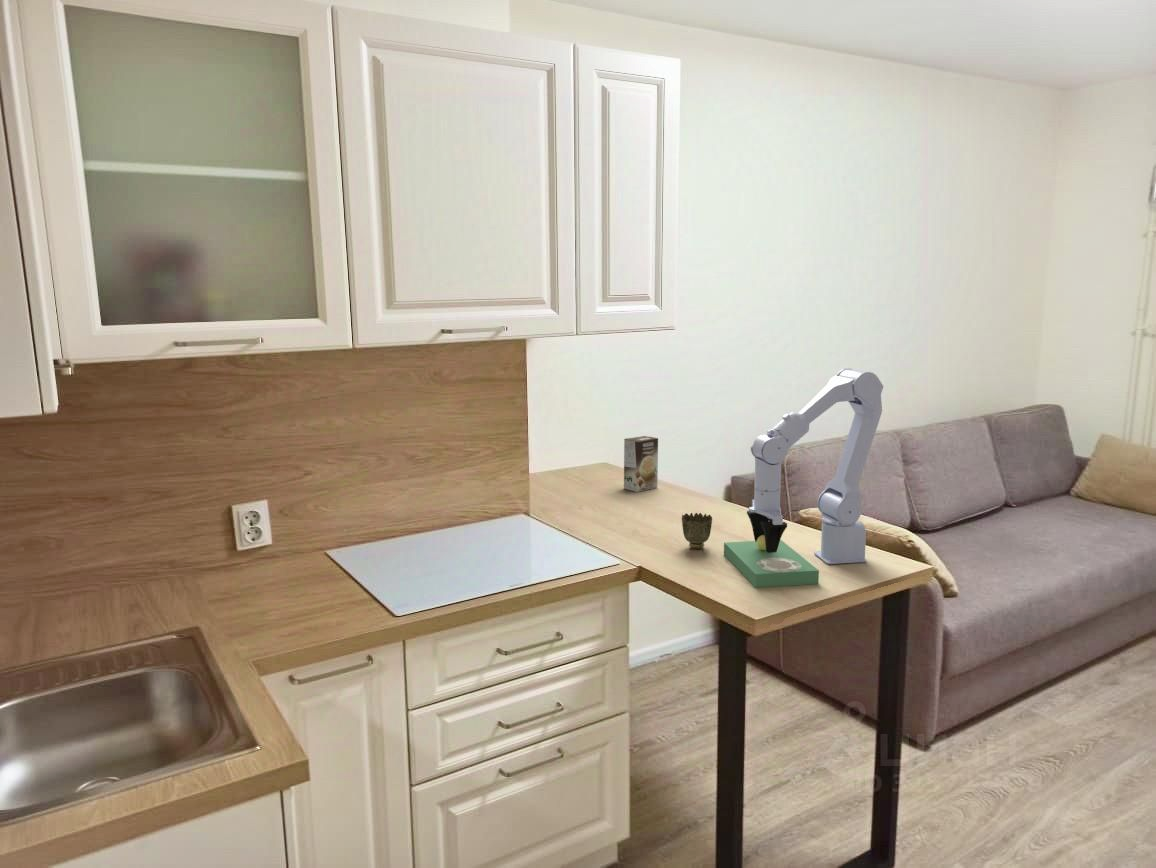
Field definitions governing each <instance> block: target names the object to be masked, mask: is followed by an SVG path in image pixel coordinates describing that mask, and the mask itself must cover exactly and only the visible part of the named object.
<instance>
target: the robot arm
mask: <svg viewBox="0 0 1156 868" xmlns="http://www.w3.org/2000/svg"><path fill="white" fill-rule="evenodd" d="M883 389H884V385H883V383H882V381H881V380H880V379H879V377H878V375H876V374H875V373H874V372H871V371H862V370H861V371H860V370H856V369H853V368H849V367H848V368H843V369H841V370H839V371H838V372H837V373H836V375H833V376H832V377H831V378H830V379H829V381H828V382H827V384H826V385H825V386H824V387H823V388H822V389H821V390H820V391H819V392H818V393H817V394H816V395H815V396H814V397H813V398H812V399H811V400H810V401H809V402H808V403H807V404H805V406H804V407H802V409H801V410H800V411H799V412H790V413H789V414H788V413H785V414H784V415H783V416H782V417H781V418H782V419H781V420H780V421H779V422H778V423H777V424H776V425H775V426H774V427H773V428H769V429H768V430H767V431H766V434H763V435H762V434H761V435H759V436H758V437H756V438H755V440H754V441H753V444H752V446H750V453H751V454H752V456H753V457H754V459H755V460H754V463H755V464H754V490H753V491H754V493H753V494H754V497H753V499H751V506H749V507H748V510H747V511H746V515H747V517H748V518H749V521H750V524H751V527H752V533H753V538H754V541H755V542H757V539H758V537H760V536H761V535H764V536H765V545H766V551H767V552H768V553H772V552H777V549H778V546H779V542H780V540H782V539H781V538H782V536H783V534H784V532H785V530H787V527H788V523H787V522H785V521H783V520H784V519H783V518H784V516H783V515H782V510H781V509H782V508H781V481H782V480H781V479H782V461H784V460H785V459H786V458H787V454H788V451H789V449H790V448H791V447H792V446H793V445H795V444H796V443H797V442H799V440H800V439H802V438H803V437H804V436H805V435H806V434H807V433H809V431H810V424H811V423H812V422H813V421H815V420H816V419H817V418H819V417H820V416H821V415H823V414H824V413H825V412H827V410H829V409H830V408H832V407H833V406H834V405H836V404H837V403H840V402H842V403H843V402H848V404H849V405H850V406H851V408H852V410H853V412H854V416H853V420H852V422H851V425H850V428H849V432H848V435H847V438H846V441H845V443H844V444H845V445H844V446H843V450H842V454H841V456H840V459H839V460H840V461H839V463H838V466H837V469H836V472H835V475H834V477H833V478H832V479H831V480H829V481H828V482H826V484H825V487H824V490H823V491H822V492H821V493H820V494H819V496H818V497H817V502H816V505H817V506H816V507H817V509H818V511H819V512H820V513H821V539H820V540H821V541H820V550H817V551H816V550H815V551H813V554H814V555H815V556H816V557H817V558H819V559H821V561H823V562H824V563H825V564H827V565H834V564H835V565H836V564H837V565H839V564H851V563H852V564H853V563H854V564H855V563H866V562H867V559H866V546H867V545H866V541H867V533H866V527H865V525H864V523H863V522H862V521H860V520H859V519H860V518H861V514H862V500H863V497H864V495H863V493H862V490H861V488H860V486H859V484H860V481H861V479H862V475H863V472H864V469H865V465H866V463H867V459H868V456H869V453H870V451H871V448H872V444H873V441H874V439H875V435H876V432H877V429H878V425H879V423H880V420H881V416H882V413H883V405H882V404H883V403H882V392H883Z"/></svg>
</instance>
